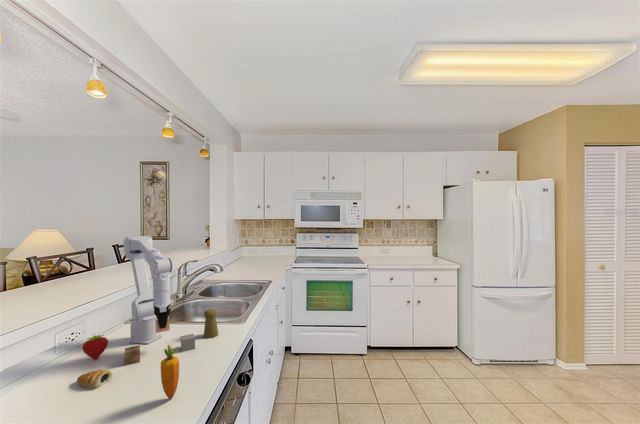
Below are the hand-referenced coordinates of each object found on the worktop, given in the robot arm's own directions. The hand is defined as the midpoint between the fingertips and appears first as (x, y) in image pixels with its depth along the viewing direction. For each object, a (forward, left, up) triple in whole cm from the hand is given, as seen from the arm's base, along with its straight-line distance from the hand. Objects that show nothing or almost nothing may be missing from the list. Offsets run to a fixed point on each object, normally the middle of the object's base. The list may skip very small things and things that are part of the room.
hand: (162, 325), depth 113 cm
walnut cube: (-4, -9, -10) cm, 14 cm away
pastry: (-5, -23, -10) cm, 25 cm away
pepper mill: (+10, +16, -10) cm, 21 cm away
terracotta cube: (0, 0, -2) cm, 2 cm away
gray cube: (+8, +3, -10) cm, 13 cm away
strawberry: (-19, -11, -10) cm, 24 cm away
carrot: (+25, -25, -10) cm, 37 cm away
